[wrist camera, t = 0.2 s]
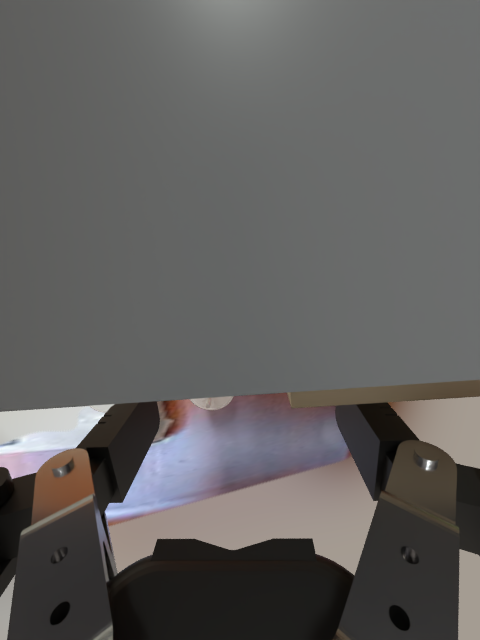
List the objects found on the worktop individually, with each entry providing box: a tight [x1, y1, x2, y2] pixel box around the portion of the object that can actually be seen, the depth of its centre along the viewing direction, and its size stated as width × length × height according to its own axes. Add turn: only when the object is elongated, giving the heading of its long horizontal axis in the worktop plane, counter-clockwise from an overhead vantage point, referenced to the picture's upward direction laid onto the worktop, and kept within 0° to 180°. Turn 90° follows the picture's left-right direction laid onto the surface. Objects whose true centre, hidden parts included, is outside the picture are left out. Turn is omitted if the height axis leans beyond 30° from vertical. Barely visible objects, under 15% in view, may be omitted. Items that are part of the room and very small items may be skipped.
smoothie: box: [190, 396, 233, 410], centre depth 35 cm, size 6×6×14 cm
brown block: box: [287, 380, 480, 408], centre depth 21 cm, size 10×16×32 cm, turn 95°
